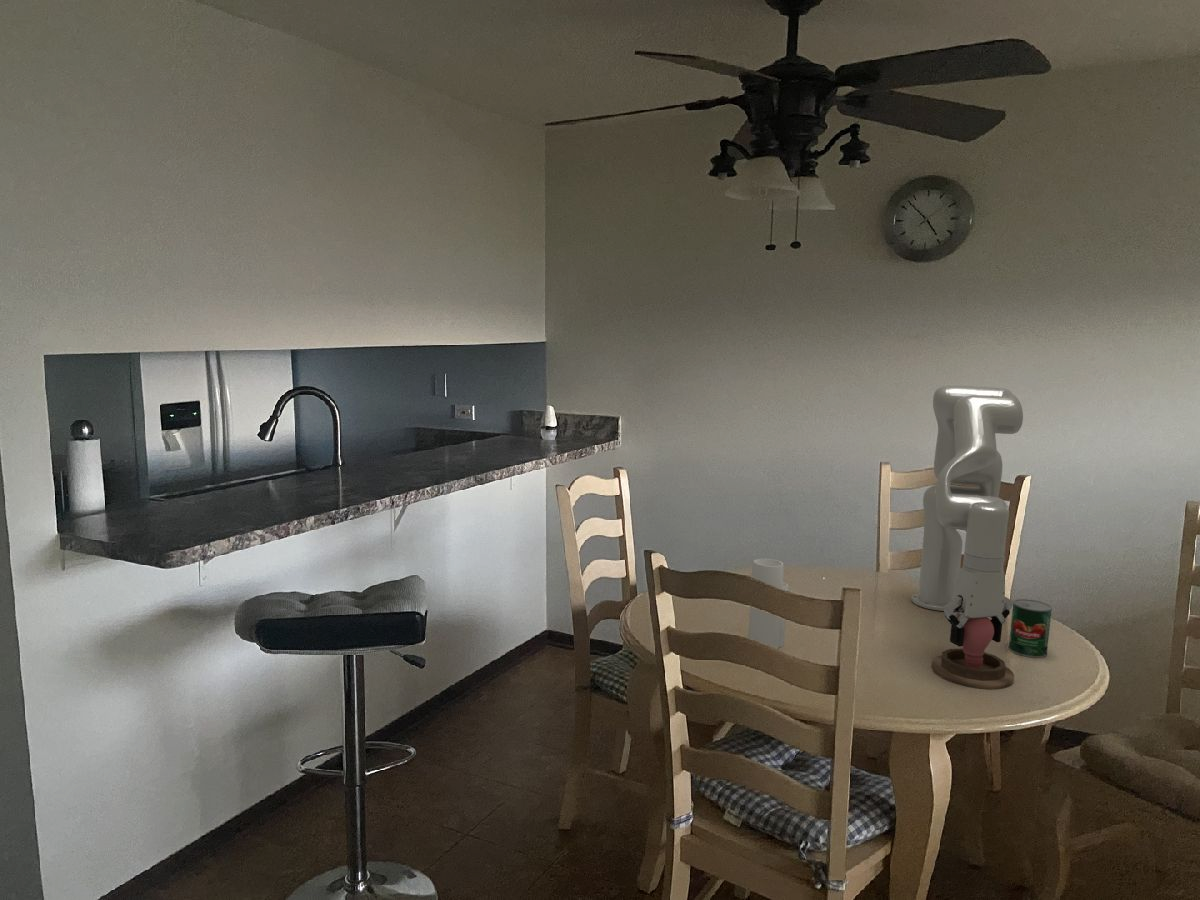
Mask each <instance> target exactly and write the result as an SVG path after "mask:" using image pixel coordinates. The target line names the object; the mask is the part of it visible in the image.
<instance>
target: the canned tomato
mask: <svg viewBox="0 0 1200 900" xmlns="http://www.w3.org/2000/svg"><path fill="white" fill-rule="evenodd" d="M1012 601H1013V602H1014V604H1013V606H1012V608H1011V610H1012V611H1011V612H1012V613H1011V620H1010V621H1011V622H1010V629H1009V641H1008V650H1009V651H1010V652H1012V653H1014V654H1016V655H1019V656H1022V657H1027V658H1034V659H1041V657H1042V658H1045V657H1047V656H1048V648H1049V637H1050V629H1051V628H1050V627H1051V620H1052V619H1051V618H1052V610H1053V607H1052V606H1051V605H1050V604H1048V603H1046V602H1043V601H1040V600H1036V599H1028V598H1018V599H1014V600H1012ZM1046 655H1047V656H1046Z"/></svg>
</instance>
